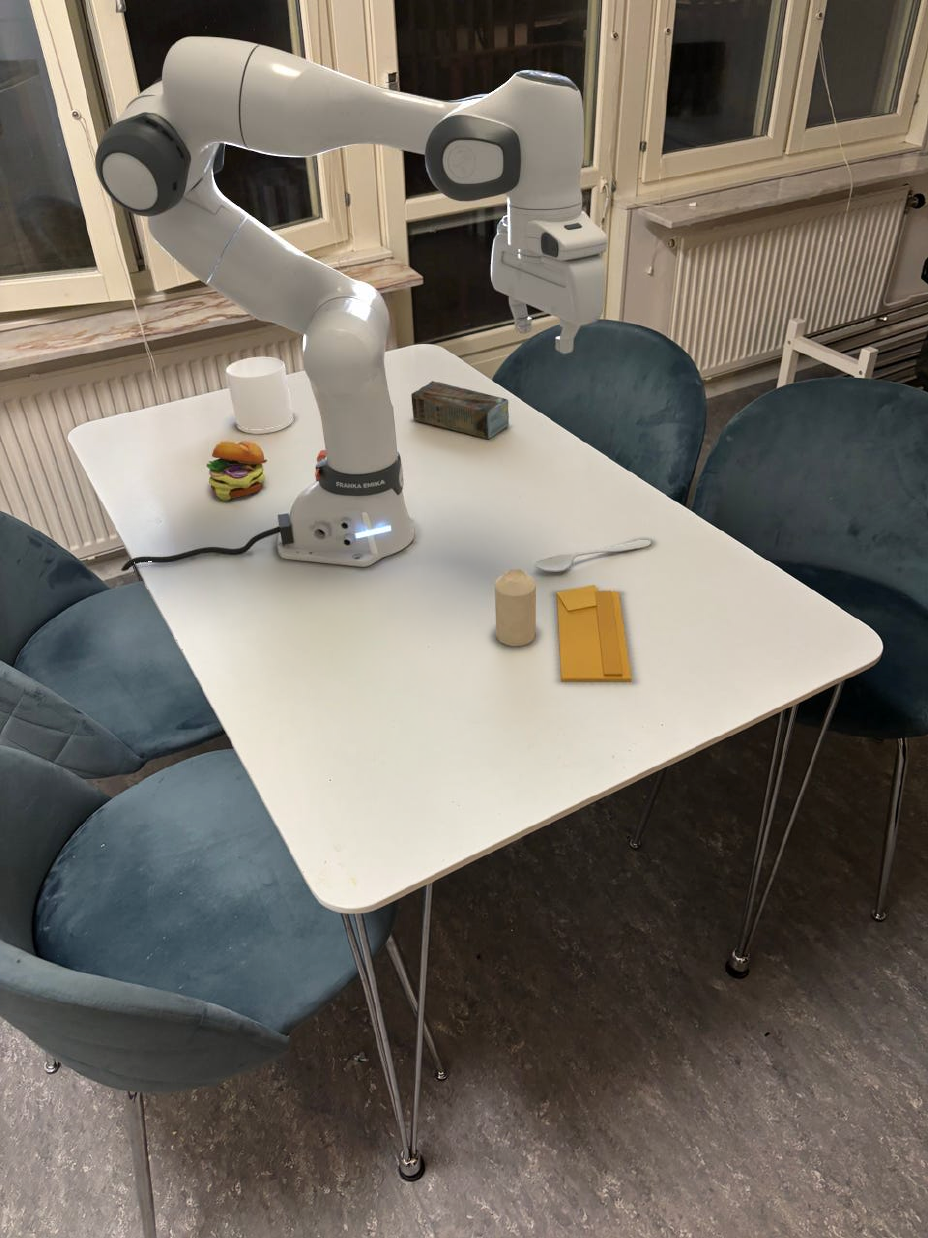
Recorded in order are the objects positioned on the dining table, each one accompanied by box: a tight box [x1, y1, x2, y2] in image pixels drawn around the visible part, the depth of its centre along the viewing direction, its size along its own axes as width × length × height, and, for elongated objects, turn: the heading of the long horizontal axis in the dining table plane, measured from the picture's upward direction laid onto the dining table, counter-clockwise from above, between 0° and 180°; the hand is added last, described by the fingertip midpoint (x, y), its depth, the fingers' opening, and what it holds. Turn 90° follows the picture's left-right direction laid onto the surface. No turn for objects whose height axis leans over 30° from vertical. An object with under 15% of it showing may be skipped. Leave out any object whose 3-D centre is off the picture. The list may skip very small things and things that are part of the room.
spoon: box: [533, 539, 652, 573], centre depth 141 cm, size 4×21×2 cm, turn 113°
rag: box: [556, 584, 632, 682], centre depth 126 cm, size 9×21×1 cm, turn 177°
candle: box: [494, 568, 537, 647], centre depth 124 cm, size 6×6×10 cm
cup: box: [225, 356, 294, 435], centre depth 186 cm, size 12×12×12 cm
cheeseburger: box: [206, 440, 268, 502], centre depth 164 cm, size 10×11×10 cm
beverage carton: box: [410, 380, 510, 440], centre depth 183 cm, size 8×19×7 cm, turn 55°
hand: (543, 341), depth 117 cm, fingers open, 8 cm apart
